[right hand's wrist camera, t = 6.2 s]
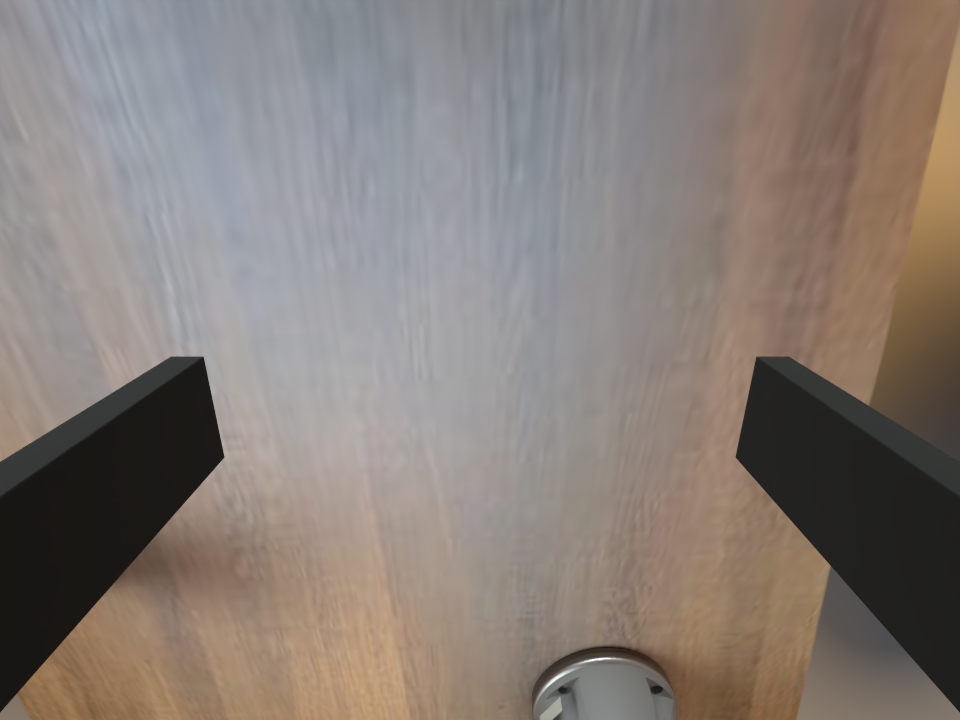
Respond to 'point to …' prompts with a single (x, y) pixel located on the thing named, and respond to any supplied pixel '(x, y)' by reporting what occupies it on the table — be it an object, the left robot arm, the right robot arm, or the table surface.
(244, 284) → the table surface
